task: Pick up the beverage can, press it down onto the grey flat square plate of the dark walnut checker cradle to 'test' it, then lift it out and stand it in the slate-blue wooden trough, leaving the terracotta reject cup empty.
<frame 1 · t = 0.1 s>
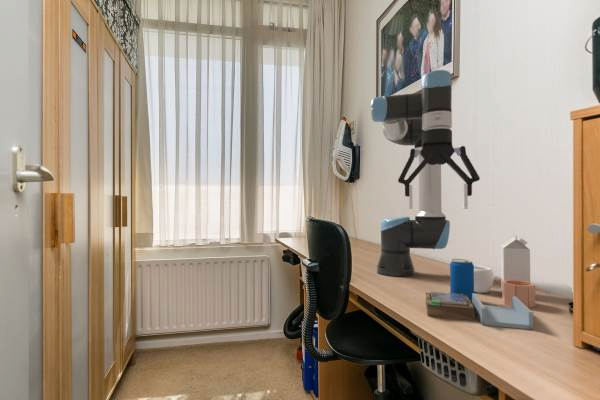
hand: (437, 208, 92), 28 cm above the table, fingers open, 13 cm apart
grey flat square plate: (447, 298, 93), point 3 cm above the table, slide at -0.7 cm
milk carton: (515, 294, 109), on the table
trough: (499, 317, 87), on the table
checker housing: (448, 310, 93), on the table
mug: (473, 291, 113), on the table
beverage can: (462, 300, 103), on the table
reject cup: (518, 303, 99), on the table
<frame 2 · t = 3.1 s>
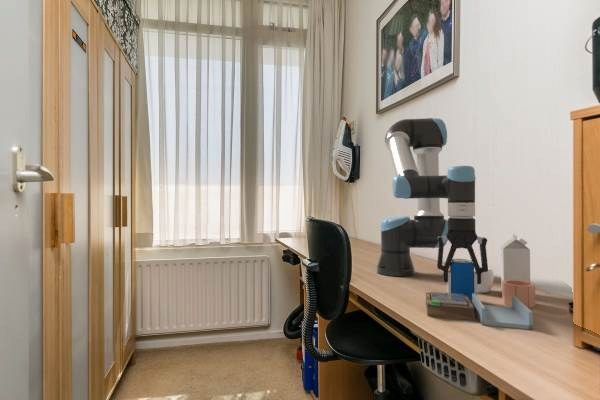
hand: (462, 293, 103), 2 cm above the table, fingers closed on beverage can, 6 cm apart
beverage can: (462, 300, 103), on the table, touching gripper
everything else where it was.
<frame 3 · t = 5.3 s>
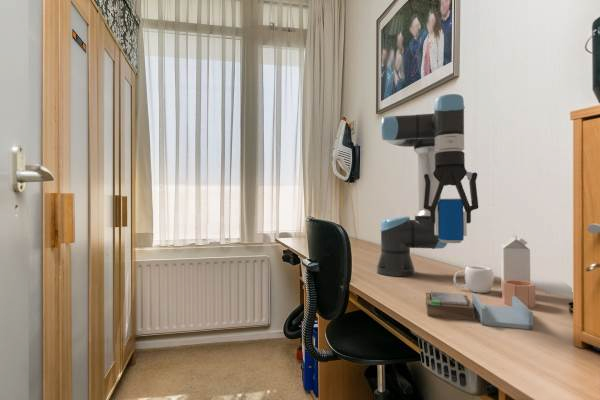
hand: (450, 235, 94), 21 cm above the table, fingers closed on beverage can, 6 cm apart
beverage can: (450, 242, 94), point 18 cm above the table, touching gripper
everything else where it was.
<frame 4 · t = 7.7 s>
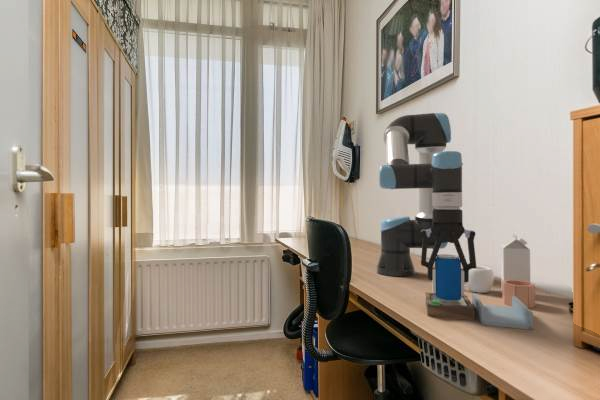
hand: (447, 292, 93), 5 cm above the table, fingers closed on beverage can, 6 cm apart
grey flat square plate: (448, 301, 93), point 2 cm above the table, slide at -1.6 cm, touching beverage can
beverage can: (448, 300, 93), point 3 cm above the table, touching grey flat square plate, gripper
everything else where it was.
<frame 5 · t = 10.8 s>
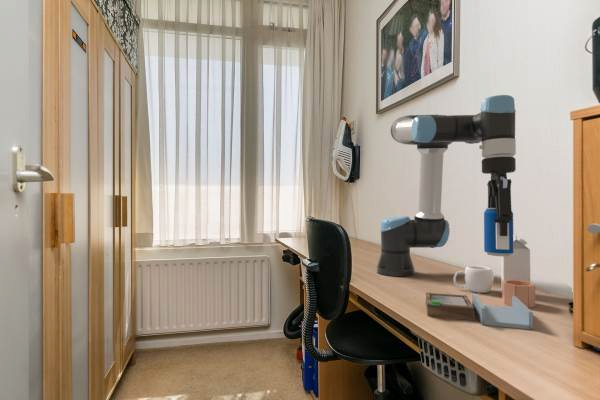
hand: (499, 247, 87), 18 cm above the table, fingers closed on beverage can, 6 cm apart
grey flat square plate: (448, 301, 93), point 2 cm above the table, slide at -1.6 cm
beverage can: (498, 255, 87), point 16 cm above the table, touching gripper
everything else where it was.
when the fingers open (4 cm above the table, at t = 13.4 s): beverage can drops 1 cm, resting on trough.
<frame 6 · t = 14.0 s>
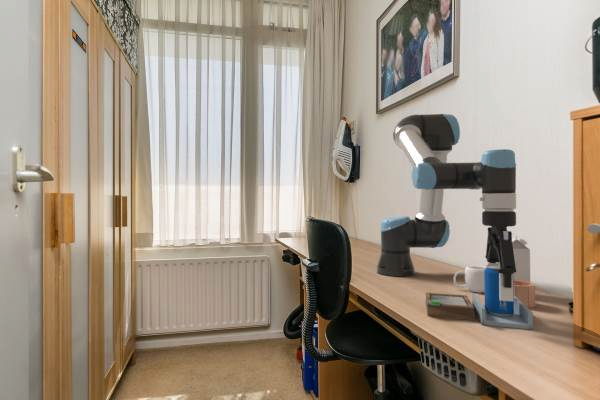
hand: (499, 293, 87), 6 cm above the table, fingers open, 13 cm apart
beverage can: (499, 314, 87), point 1 cm above the table, touching trough
everything else where it was.
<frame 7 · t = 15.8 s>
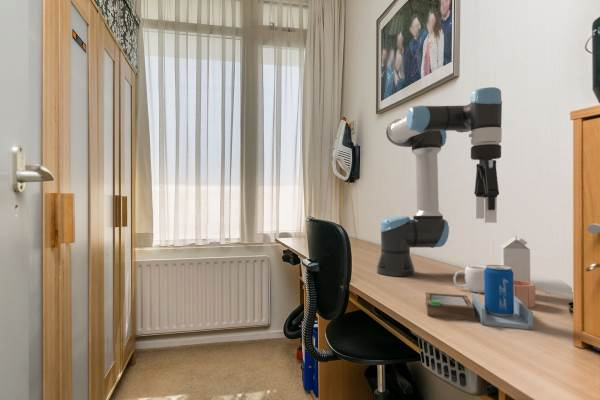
hand: (485, 220, 96), 24 cm above the table, fingers open, 13 cm apart
nothing on the table moved.
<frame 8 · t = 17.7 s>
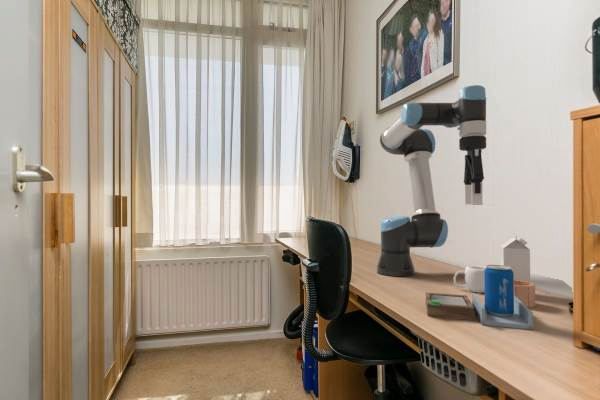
hand: (473, 204, 106), 29 cm above the table, fingers open, 13 cm apart
nothing on the table moved.
at the end: beverage can inside the target area on the trough (0.1 cm from its centre), point 0.8 cm above the trough's base; beverage can tilted 0°; the gripper is holding nothing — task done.
